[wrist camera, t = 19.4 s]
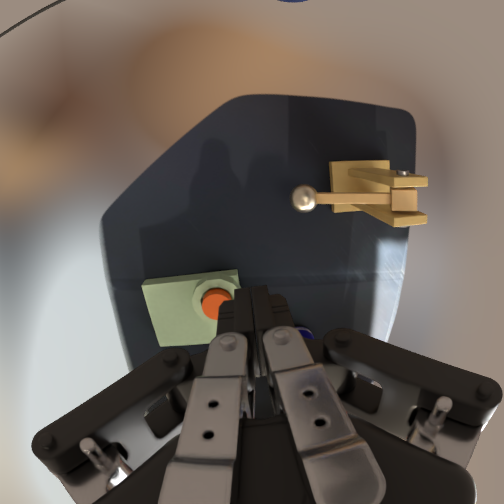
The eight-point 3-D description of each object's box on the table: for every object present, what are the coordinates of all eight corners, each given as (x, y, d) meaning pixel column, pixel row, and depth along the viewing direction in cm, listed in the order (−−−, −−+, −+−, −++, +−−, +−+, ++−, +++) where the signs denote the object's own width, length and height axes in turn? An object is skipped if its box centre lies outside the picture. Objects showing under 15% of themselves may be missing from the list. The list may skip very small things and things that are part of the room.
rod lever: (294, 209, 34) (287, 215, 31) (292, 182, 33) (285, 186, 30) (412, 210, 29) (417, 217, 26) (412, 182, 28) (417, 186, 25)
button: (205, 314, 40) (204, 321, 38) (200, 289, 39) (199, 295, 37) (234, 312, 40) (234, 318, 38) (229, 286, 39) (229, 292, 37)
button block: (162, 338, 45) (157, 353, 42) (144, 275, 41) (136, 287, 38) (248, 331, 45) (249, 346, 42) (239, 265, 42) (239, 276, 38)
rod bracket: (331, 211, 40) (374, 239, 27) (328, 161, 37) (373, 167, 24) (386, 206, 40) (441, 230, 27) (385, 159, 38) (443, 167, 24)
